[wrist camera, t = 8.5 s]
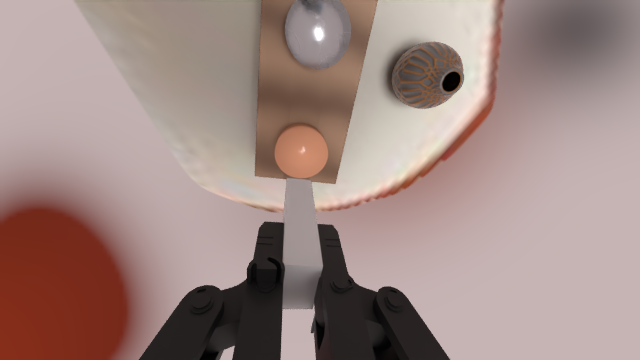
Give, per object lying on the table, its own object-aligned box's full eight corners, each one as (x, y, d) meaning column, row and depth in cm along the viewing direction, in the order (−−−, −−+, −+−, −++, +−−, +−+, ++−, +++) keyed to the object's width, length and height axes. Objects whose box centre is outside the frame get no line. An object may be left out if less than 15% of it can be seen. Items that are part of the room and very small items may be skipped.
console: (270, -24, 23) (263, -45, 18) (362, -1, 25) (381, -15, 20) (260, 156, 33) (254, 176, 27) (328, 163, 34) (335, 183, 29)
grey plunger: (289, -1, 23) (288, -18, 18) (342, 11, 24) (358, -1, 19) (284, 60, 26) (282, 63, 20) (332, 69, 27) (343, 74, 21)
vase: (448, 62, 29) (502, 66, 22) (413, 111, 32) (451, 129, 24) (407, 30, 27) (453, 22, 19) (374, 85, 30) (402, 97, 22)
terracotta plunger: (280, 110, 28) (276, 124, 22) (324, 116, 29) (332, 132, 23) (276, 152, 30) (272, 175, 25) (317, 157, 31) (323, 180, 26)
